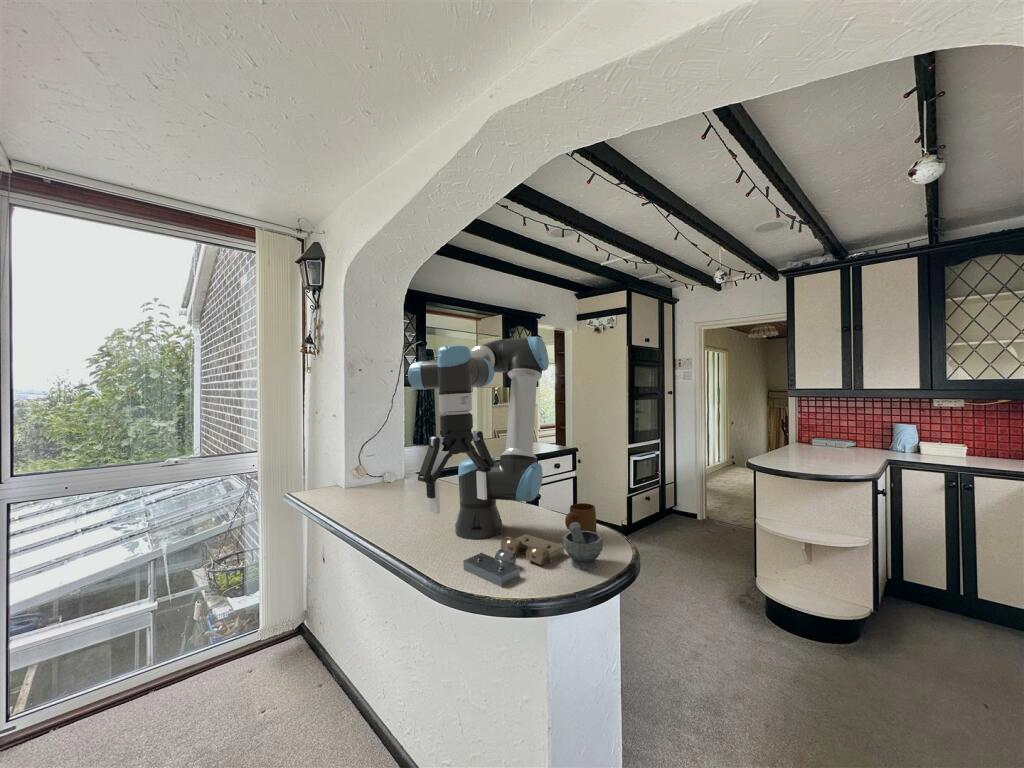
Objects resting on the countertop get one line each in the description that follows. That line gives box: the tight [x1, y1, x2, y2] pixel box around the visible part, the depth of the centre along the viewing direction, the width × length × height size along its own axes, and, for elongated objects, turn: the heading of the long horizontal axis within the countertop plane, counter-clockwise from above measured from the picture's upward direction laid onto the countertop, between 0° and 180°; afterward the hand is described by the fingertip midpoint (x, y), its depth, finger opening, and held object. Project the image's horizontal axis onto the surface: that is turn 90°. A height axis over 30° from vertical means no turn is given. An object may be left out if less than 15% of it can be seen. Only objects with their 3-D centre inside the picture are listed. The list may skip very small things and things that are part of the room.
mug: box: [564, 502, 598, 533], centre depth 119 cm, size 12×8×9 cm, turn 136°
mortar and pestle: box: [562, 522, 604, 571], centre depth 103 cm, size 11×9×12 cm
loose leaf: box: [462, 548, 521, 588], centre depth 102 cm, size 14×10×4 cm
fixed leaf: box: [500, 534, 565, 566], centre depth 111 cm, size 14×10×4 cm
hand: (459, 505), depth 94 cm, fingers open, 13 cm apart
